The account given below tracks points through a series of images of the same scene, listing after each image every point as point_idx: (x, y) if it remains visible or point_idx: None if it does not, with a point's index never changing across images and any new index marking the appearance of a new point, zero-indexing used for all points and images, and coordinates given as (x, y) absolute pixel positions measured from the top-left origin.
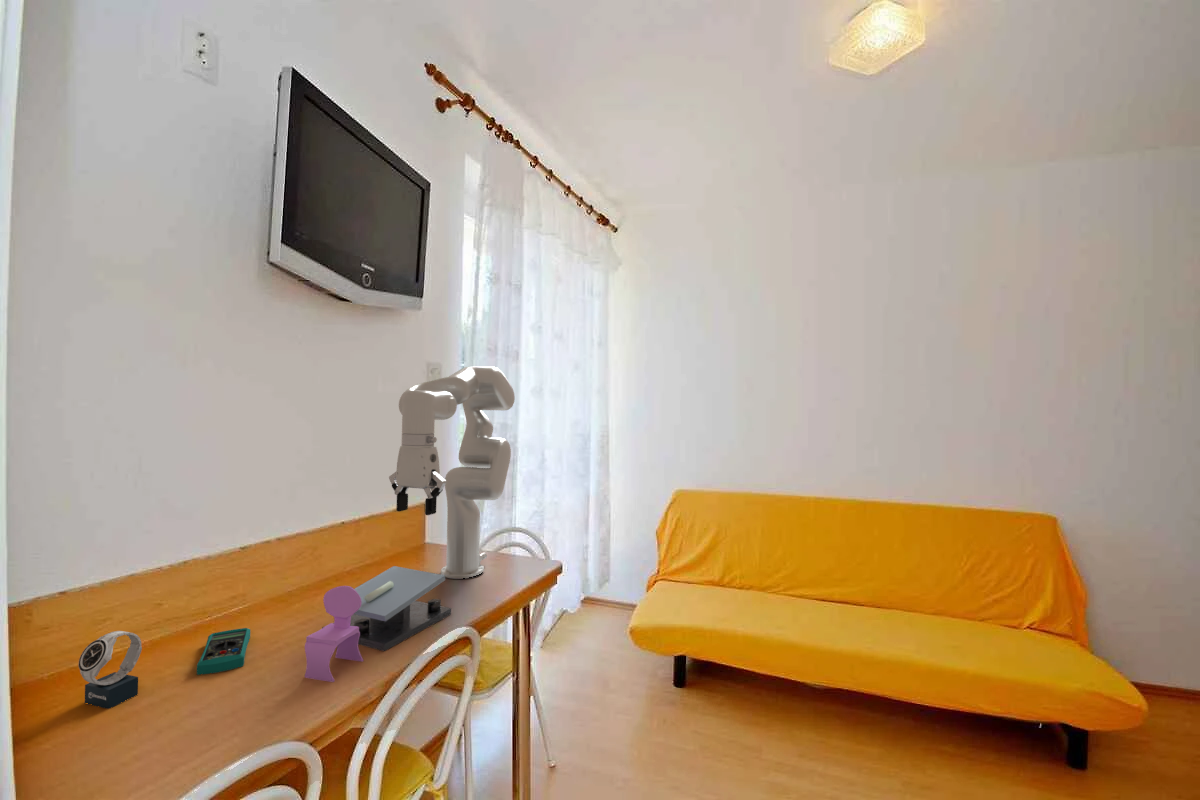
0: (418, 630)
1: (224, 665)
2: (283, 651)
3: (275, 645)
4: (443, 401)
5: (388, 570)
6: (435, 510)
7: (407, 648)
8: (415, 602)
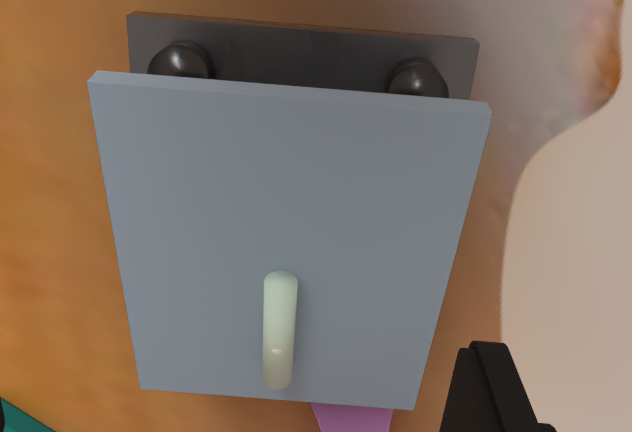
0: None
1: None
2: (158, 419)
3: (106, 404)
4: None
5: (110, 137)
6: (544, 424)
7: (469, 316)
8: (280, 46)
